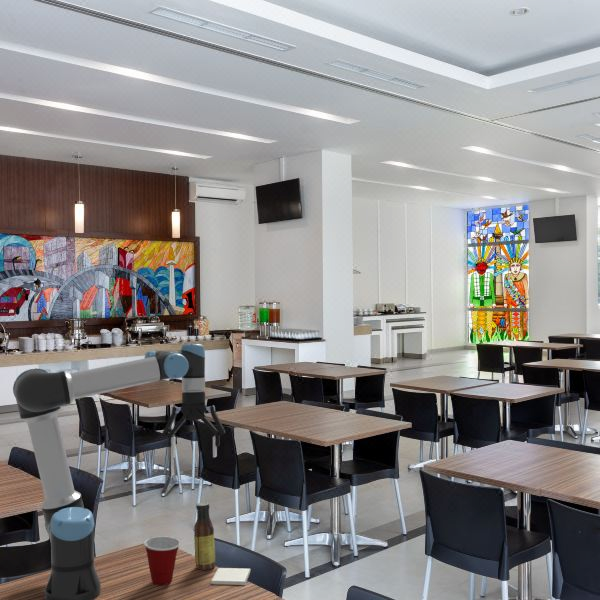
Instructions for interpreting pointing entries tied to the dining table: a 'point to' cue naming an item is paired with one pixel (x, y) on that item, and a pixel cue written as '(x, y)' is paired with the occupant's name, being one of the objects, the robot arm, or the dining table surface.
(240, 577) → the cream pad
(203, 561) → the sauce bottle
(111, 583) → the dining table surface
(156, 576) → the plastic cup
